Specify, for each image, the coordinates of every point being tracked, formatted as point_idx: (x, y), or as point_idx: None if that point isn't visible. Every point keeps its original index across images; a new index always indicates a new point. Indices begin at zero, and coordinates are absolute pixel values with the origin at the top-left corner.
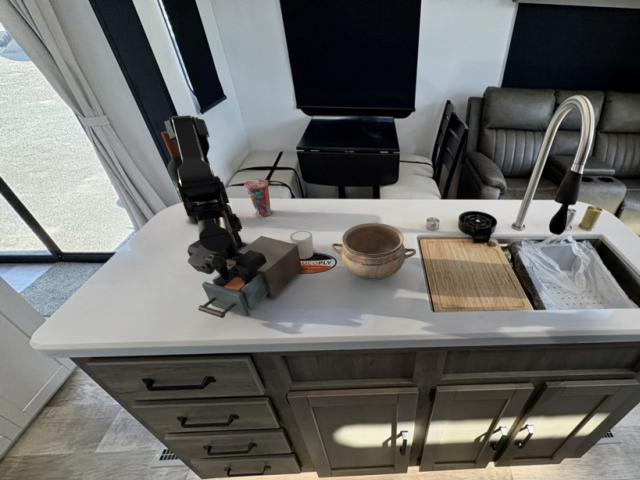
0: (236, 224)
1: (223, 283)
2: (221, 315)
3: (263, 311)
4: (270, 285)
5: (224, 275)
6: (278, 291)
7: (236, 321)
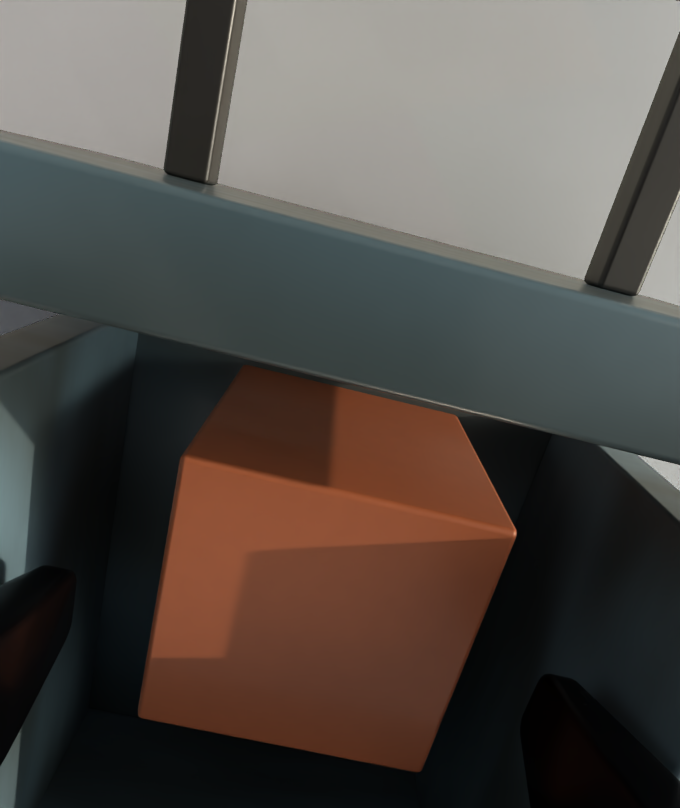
0: None
1: (591, 613)
2: None
3: None
4: None
5: (584, 787)
6: None
7: (245, 108)
